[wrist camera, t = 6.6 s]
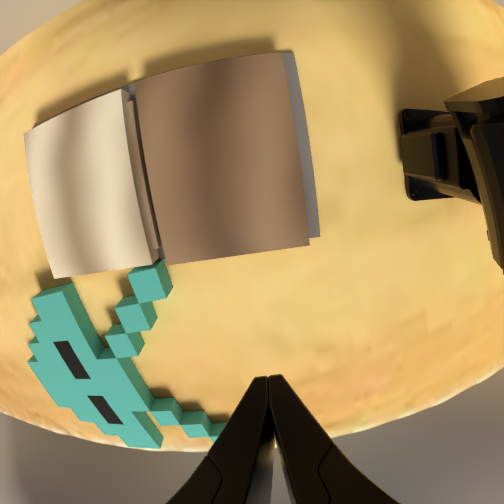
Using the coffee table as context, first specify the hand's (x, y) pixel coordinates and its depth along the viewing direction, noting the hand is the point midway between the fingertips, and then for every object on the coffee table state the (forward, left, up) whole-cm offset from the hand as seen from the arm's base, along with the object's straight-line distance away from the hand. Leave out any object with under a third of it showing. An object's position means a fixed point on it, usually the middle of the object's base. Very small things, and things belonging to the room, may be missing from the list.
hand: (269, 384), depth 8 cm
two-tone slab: (+6, -7, -12) cm, 15 cm away
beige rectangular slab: (+11, -7, -12) cm, 18 cm away
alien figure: (+16, +10, -13) cm, 23 cm away
